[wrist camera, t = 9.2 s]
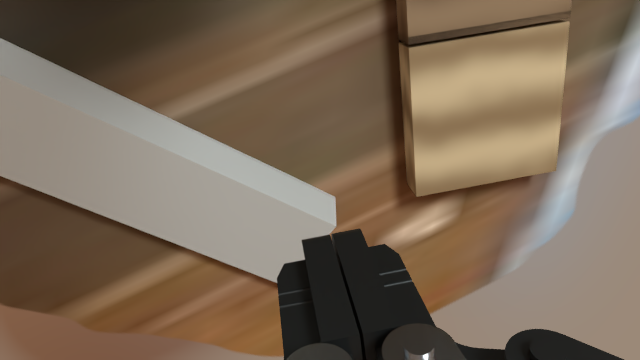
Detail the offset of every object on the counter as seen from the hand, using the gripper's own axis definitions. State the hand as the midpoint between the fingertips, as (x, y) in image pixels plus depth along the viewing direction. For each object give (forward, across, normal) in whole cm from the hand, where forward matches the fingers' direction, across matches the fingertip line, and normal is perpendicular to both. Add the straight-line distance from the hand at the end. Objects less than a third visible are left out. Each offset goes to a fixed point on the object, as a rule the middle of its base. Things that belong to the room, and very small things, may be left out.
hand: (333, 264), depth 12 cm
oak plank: (+32, -18, +8) cm, 38 cm away
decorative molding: (+33, +13, +9) cm, 37 cm away
